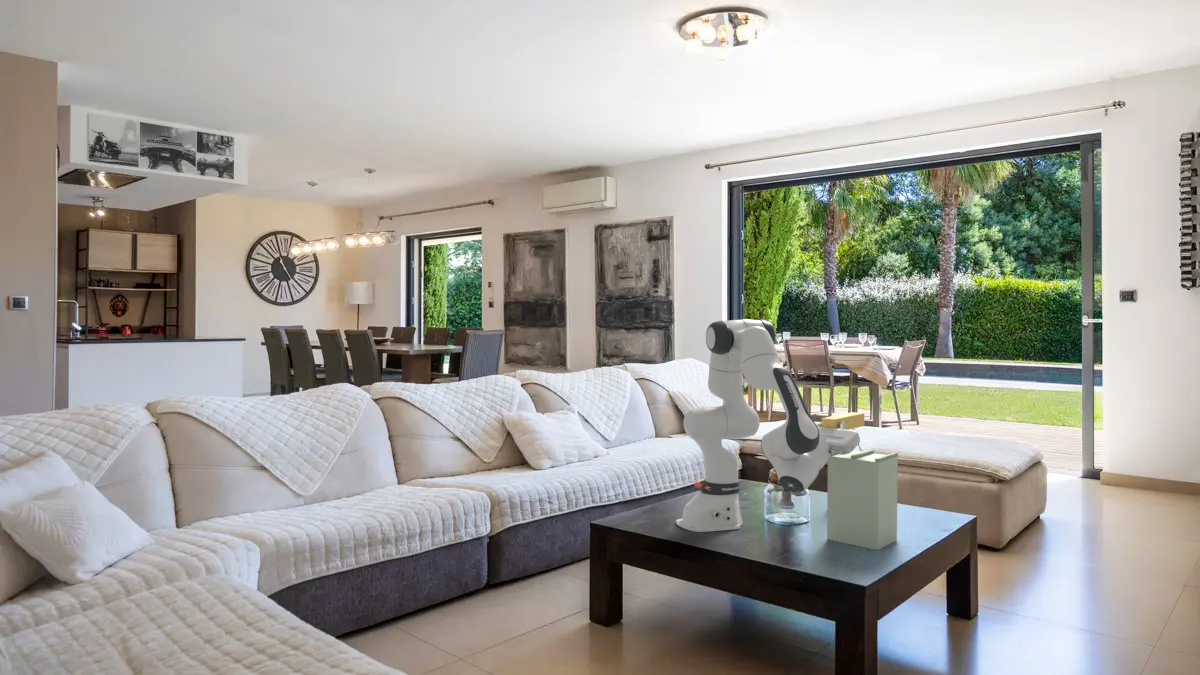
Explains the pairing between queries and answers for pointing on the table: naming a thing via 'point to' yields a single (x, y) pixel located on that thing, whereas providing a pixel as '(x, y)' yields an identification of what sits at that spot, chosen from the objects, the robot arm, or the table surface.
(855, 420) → the bar
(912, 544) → the table surface
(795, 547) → the table surface
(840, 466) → the sage green slotted block
